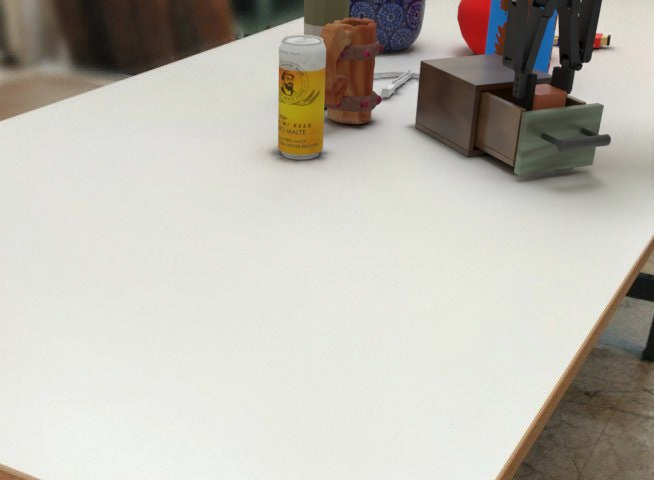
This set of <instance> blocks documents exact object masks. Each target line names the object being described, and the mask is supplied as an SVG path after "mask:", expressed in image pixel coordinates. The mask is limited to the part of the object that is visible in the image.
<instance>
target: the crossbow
mask: <svg viewBox="0 0 654 480" xmlns="http://www.w3.org/2000/svg"><path fill="white" fill-rule="evenodd" d="M419 74H420V72H415V71H411V70H410V69H407V71H406V70H405V71H404V70H403V71H379V72H374V78H377V79H379V80H382V81H384V82H387V83H388V84H387V86H386V87H383V88H382V89H381V98H382V97H383V98H389V97H390V96H391V95H395V94H396V88H398V87H400V86H401V85H403V84H408V83H409V84H410V83H413V81H408V80H410V79H411V78H412V79H419ZM385 77H386V78H387V77H397V78H395V79H392V81H388V80H386V79H383V78H385Z"/></svg>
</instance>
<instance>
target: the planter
mask: <svg viewBox="0 0 654 480" xmlns="http://www.w3.org/2000/svg"><path fill="white" fill-rule="evenodd" d="M426 4H427V0H350V9H349V18H359V19H360V20H362V19H364V18H366V19H370V20H373V21H375V24H376V41H378V42H379V44H381V45H382V46H383V47H384V50H383V51H382V54H384V53H385V54H387V53H388V54H389V53H398V52H401V51H402V52H403V51H405V50H407V49H408V48H410V47H411V46H412V45H413V44H414V43H415V42H416V40H417V39H418V38H419V36H420V34H421V31H422V28H423V24H424V18H425V13H426V12H425V11H426Z"/></svg>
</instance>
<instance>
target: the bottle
mask: <svg viewBox="0 0 654 480" xmlns="http://www.w3.org/2000/svg"><path fill="white" fill-rule="evenodd" d="M349 9H350V0H303V35H312V36H318V37H320V34H321V32H322V29H323V28H324V27H325V25H326V24H328V23H331V24H333V22H334V21H335V20H341V21H342V20H343V19H344V18H349ZM324 109H327V107H326V106H325V105H324Z"/></svg>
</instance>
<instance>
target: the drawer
mask: <svg viewBox="0 0 654 480" xmlns="http://www.w3.org/2000/svg"><path fill="white" fill-rule="evenodd" d="M539 85H540V84H539ZM512 92H513V87H511V88H502V89H493V90H483V91H480V97H479V105H478V114H477V122H476V130H475V139H474V146H476V147H478V148H480V149H481V150H483V151H485V152H487V153H489V154H488V155H491V156H492V157H494V158H496V159H498V160H500V161H501V162H503V163H505V164H507V165H509V166H511V167H514V169H513V174H515V175H517V176H519V177H520V176H527V175H533V174H541V173H548V172H554V171H561V170H567V169H576V168H582V167H590V166H593V165H594V161H595V155H596V150H597V148H600V147H601V148H602V147H607V146H610V144H611V142H612V137H611V135H610V134H608V133H603V134H600V128H601V122H602V118H603V113H604V107H605V105H604V104H602V103H599V102H594V103H587V101H584V100H582V99H580V98H576V97H574V96H571V94H567V101H566V107H560V108H551V109H543V110H534V111H526V109H524V108H522V107H519V106H517V105H515V102H516V98H514V97H513V94H512Z"/></svg>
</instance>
